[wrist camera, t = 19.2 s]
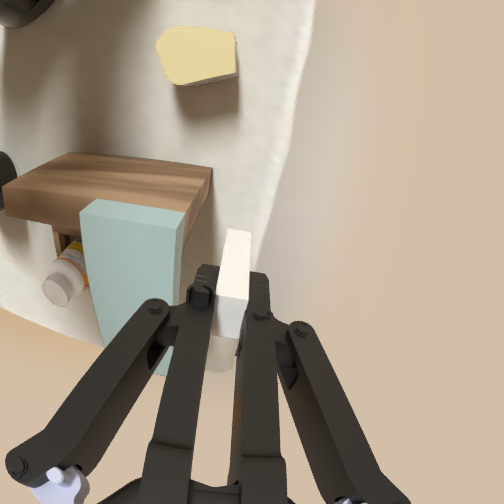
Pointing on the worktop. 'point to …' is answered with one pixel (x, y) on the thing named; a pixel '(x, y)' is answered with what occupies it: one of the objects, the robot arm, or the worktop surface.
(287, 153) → the worktop surface
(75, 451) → the robot arm
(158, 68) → the worktop surface
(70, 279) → the supplement bottle
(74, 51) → the worktop surface
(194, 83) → the pale yellow layered block
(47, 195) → the wall
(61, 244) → the brown wooden square tray
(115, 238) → the plank
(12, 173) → the mug
